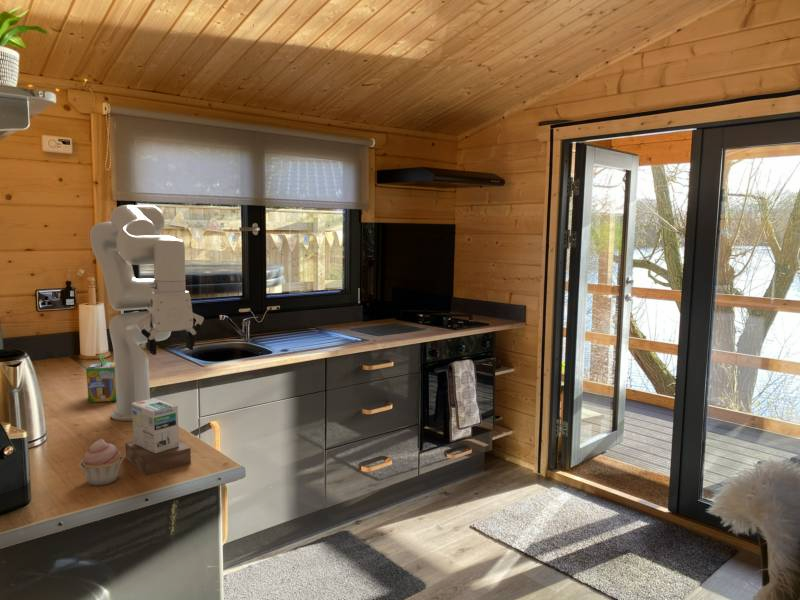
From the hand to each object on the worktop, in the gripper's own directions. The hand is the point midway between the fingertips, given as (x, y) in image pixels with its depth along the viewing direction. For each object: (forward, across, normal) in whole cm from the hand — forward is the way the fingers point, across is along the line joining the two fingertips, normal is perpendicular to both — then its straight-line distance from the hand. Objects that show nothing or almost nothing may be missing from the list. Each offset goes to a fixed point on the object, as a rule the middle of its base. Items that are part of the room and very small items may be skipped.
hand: (171, 351), depth 165 cm
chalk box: (+28, -2, +55) cm, 62 cm away
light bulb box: (+22, -7, -8) cm, 24 cm away
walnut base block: (+26, -7, -8) cm, 28 cm away
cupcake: (+26, -21, -12) cm, 35 cm away
